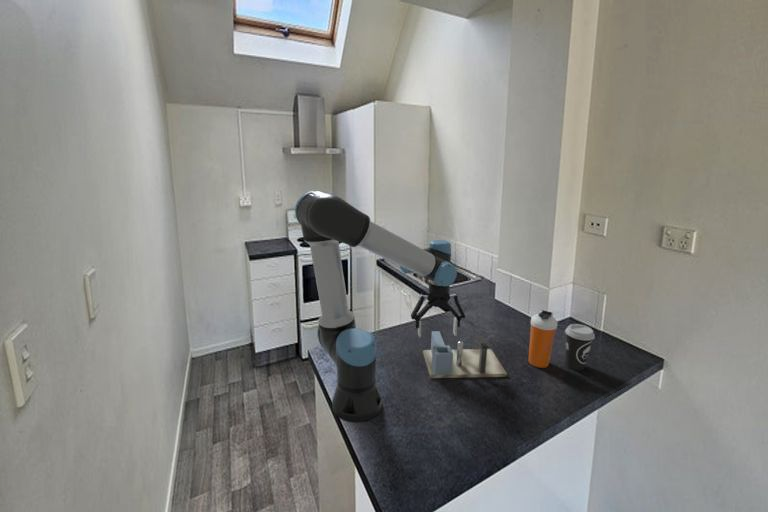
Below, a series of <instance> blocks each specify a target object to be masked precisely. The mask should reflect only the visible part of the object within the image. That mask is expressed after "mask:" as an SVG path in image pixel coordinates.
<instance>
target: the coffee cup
mask: <svg viewBox="0 0 768 512" xmlns="http://www.w3.org/2000/svg"><path fill="white" fill-rule="evenodd" d="M564 332H565V334H566V336H565V355H564V366H565V367H567V368H568V369H569V370H570V369H571V370H573V371H583V370H584V369H585V367H586V364H587V361H588V357H589V353H590V351H591V350H590V349H591V347H592V343H593V340H595V338H596V337H595V332H594V330H593V329H592V328H591V327H589V326H587V325H584V324H580V323H571V324H569V325H568V326H567V327H566V329H565V330H564Z"/></svg>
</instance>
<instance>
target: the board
mask: <svg viewBox="0 0 768 512" xmlns="http://www.w3.org/2000/svg"><path fill="white" fill-rule="evenodd" d="M451 350H452V353H453V364H452V375H435V374H434V371H433V368H432V352H431V349H424V350H422V354H423V357H424V361H425V364H426V368H427V371H428V375H429V378H430V379H448V378H449V379H452V378H453V379H455V378H456V379H457V378H459V379H460V378H461V379H463V378H502V377H503V378H504V377H506V378H507V375H508V374H507V372H506V370H505V369H504V367H503V365H502V363H501V362H500V360H499V359H498V358H497V356H496V355H495V352H494V351H493V349H492V348H489V349H487V357H486V368H485V373H480V372H479V358H480V348H478V349H476V348H472V349H470V348H467V349H466V348H463V356H462V366H460V367H459V366H457V365H456V361H457V349H451Z"/></svg>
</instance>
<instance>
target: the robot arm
mask: <svg viewBox="0 0 768 512" xmlns="http://www.w3.org/2000/svg"><path fill="white" fill-rule="evenodd" d="M294 208H295V209H294V213H295V217H296V220H297V222H298V224H300V225H301V226H300V227H301V232H302V238H303V241H304V242H305V243H306V244H308V245H309V248H310V254H311V259H312V264H313V272H314V276H315V281H316V287H317V293H318V300H319V306H320V312H321V315H320V316H319V317H318V322H317V323H318V327H317V330H316V331H317V332H316V334H317V339H318V342H319V345H320V346H321V348H322V349H324V351H325V352H326V353H327V355H328V356H329V357H330V358H331V360H332V361H333V363H334V364H335V366H336V371H337V372H336V374H337V375H336V377H337V379H336V380H337V385H336V388H335V390H334V394H333V397H332V402H331V403H332V405H331V406H332V411H333V413H334V415H335V416H336V417H337V418H339V419H340V420H342V421H345V422H349V423H363V422H366V421H370V420H372V419H373V418H375V417H376V416H377V415H378V414H379V413H380V412H381V410H382V404H383V403H382V395H381V393H380V390H379V387H378V384H377V352H378V350H377V349H378V348H377V343H376V338H375V337H374V335H373V334H372V333H370V332H369V331H368V330H366V329H363V330H362V329H361V328H357V327H356V320H355V314H354V313H353V311H351V310H350V309H349V304H348V303H349V302H348V297H347V290H346V283H345V277H344V271H343V262H342V256H341V248H340V243H342V244H345V245H347V246H349V247H352V248H356V247H360V248H362V249H364V250H366V251H368V252H371V253H372V254H374V255H377V256H378V257H381V258H383V259H385V260H388V261H389V262H391V263H393V264H396V265H397V266H399V268H400V270H401V272H402V273H404V274H406V275H408V274H413V273H415V274H417V275H419V276H421V277H423V278H424V279H427V280H428V282H429V283H428V293H427V295H426V294H425V295H424V294H423V293H420V294H419V299H418V300H417V303H416V304H415V306H414V308H413V310H412V312H411V314H410V318H411V320H415V324H414V326H415V328H416V329H417V335H418V338H421V337H422V318H423V317H424V316H425V315H426V314H427V312H428V311H430V309H432V308H433V307H435V308H439V307H440V308H442V307H446V308H447V309H448V310H449V311H450V312H451V314H452V315H453V316H454V317H453V326H452V327H453V328H452V333H453V335H454V337H457V336H458V335H457V334H458V328H460V327H461V321H462V319H465V318H466V315H465V313H464V310H463V308H462V307H461V304H460V302H459V297H458V295H457V293H456V292H453V294H450V286H451V285H452V284H453V283H454V282H455V280H456V278H457V274H458V271H457V268H456V266H455V265H454V264H452V263H451V262H452V246H451V245H452V244H451V242H449V241H448V240H443V239H434V240H432V241H430V243H429V247H427V248H421V247H419V246H418V245H416V244H413V243H412V242H410V241H408V240H407V239H404V238H403V237H401V236H400V235H397V234H395V233H393V232H391V231H389V230H388V229H386V228H384V227H382V226H380V225H379V224H376V223H375V222H373V221H371V218H370V216H369V215H367V214H365V213H363V212H362V211H360V210H359V209H358V208H356V207H354V206H353V205H351V203H349V202H347V201H346V200H344V199H343V198H342V197H340V196H338V195H334V194H330V193H327V192H325V191H322V190H311V191H308V192H306V193H304V194H302V195H301V196H300V197H299V199H298V200H297V201H296V204H295V207H294ZM426 300H427V302H426ZM450 300H452V301H453V302H454V304H455V305H456V308H457V310H458V312H457V311H456V310H455V309H454V308H453V306H451V304H450V303H449V301H450ZM424 302H426V304H425V305H424V306H423V304H424ZM421 308H422V309H421Z"/></svg>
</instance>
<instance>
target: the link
mask: <svg viewBox="0 0 768 512" xmlns="http://www.w3.org/2000/svg"><path fill="white" fill-rule="evenodd" d="M430 350H431V352H432V368H433V371H434V374H435V375H452V364H453V353H452V350H453V349H452V347H451V346H450V345H446V343H445V342H444V339H443V336H442V334H441V331H440V330H438V331H437V330H435V331H433V330H432V331H431V339H430Z"/></svg>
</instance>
